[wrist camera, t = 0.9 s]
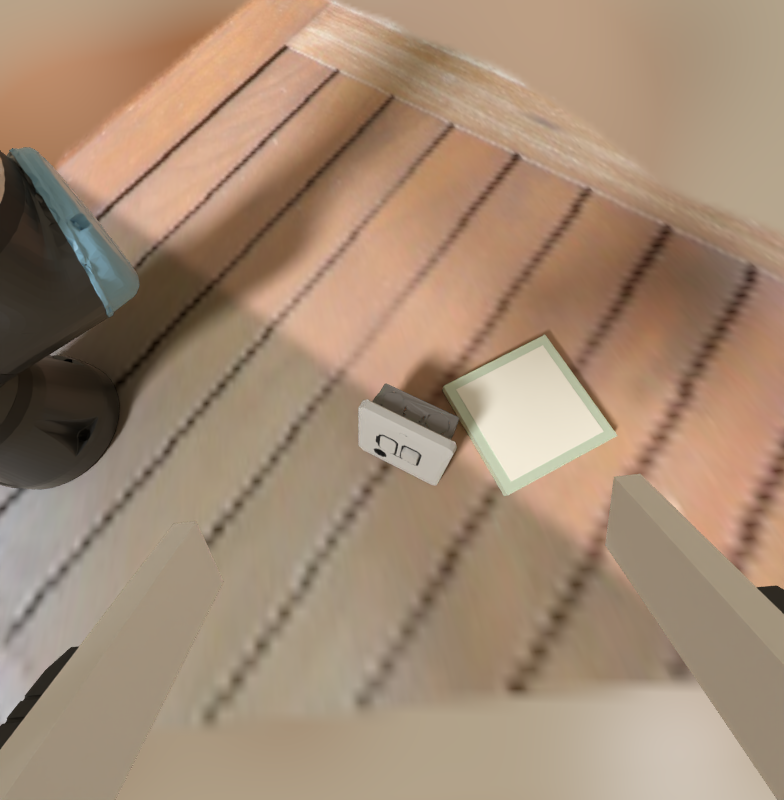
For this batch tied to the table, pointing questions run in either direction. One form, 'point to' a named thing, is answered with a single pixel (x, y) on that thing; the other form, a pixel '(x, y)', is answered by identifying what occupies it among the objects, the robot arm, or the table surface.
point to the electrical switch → (407, 433)
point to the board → (527, 414)
